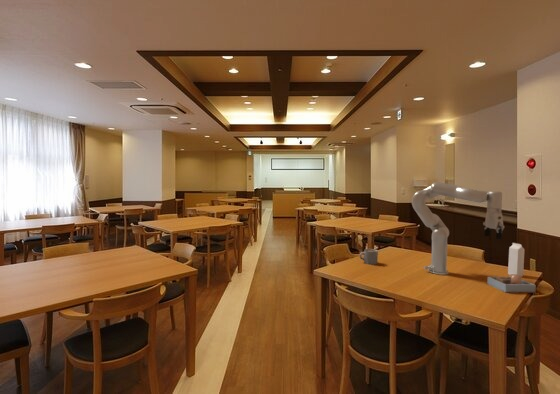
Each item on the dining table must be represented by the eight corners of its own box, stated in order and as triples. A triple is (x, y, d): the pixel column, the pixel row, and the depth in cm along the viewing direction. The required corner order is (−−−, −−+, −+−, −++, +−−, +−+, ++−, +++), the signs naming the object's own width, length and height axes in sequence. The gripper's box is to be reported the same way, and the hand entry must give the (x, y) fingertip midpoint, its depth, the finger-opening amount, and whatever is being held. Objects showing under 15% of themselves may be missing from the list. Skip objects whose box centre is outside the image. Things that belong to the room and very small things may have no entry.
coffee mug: (377, 261, 236) (377, 249, 235) (377, 265, 227) (377, 252, 226) (359, 260, 240) (360, 248, 240) (359, 263, 231) (359, 250, 230)
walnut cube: (502, 288, 177) (502, 280, 177) (495, 285, 182) (496, 277, 182) (510, 288, 177) (510, 280, 177) (503, 285, 182) (504, 277, 182)
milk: (516, 277, 201) (518, 244, 200) (507, 274, 207) (509, 242, 206) (523, 276, 203) (525, 244, 202) (514, 273, 209) (515, 242, 208)
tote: (505, 292, 172) (505, 284, 172) (487, 283, 187) (487, 276, 187) (535, 292, 173) (535, 285, 172) (515, 284, 187) (515, 277, 187)
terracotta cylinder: (522, 288, 177) (522, 276, 177) (512, 287, 178) (512, 276, 178) (518, 285, 182) (518, 274, 181) (509, 285, 183) (509, 273, 183)
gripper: (510, 212, 182) (509, 240, 183) (490, 209, 199) (488, 235, 200) (498, 212, 182) (497, 239, 183) (478, 209, 199) (477, 234, 200)
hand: (492, 237), depth 191 cm, fingers open, 9 cm apart
